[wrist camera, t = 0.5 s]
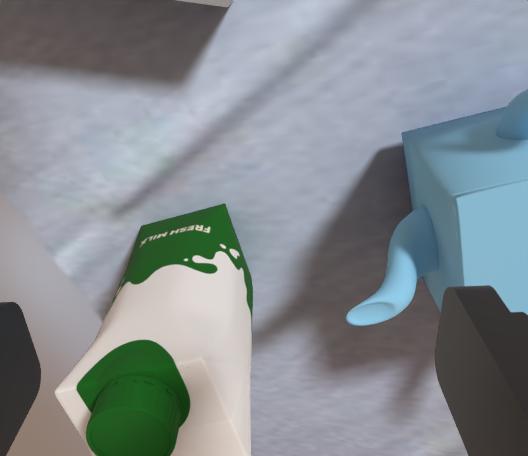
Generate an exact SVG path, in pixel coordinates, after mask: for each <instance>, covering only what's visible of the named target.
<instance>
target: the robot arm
mask: <svg viewBox="0 0 528 456" xmlns="http://www.w3.org/2000/svg"><path fill="white" fill-rule="evenodd" d="M435 366H436V373H437V378H438V381H439V384H440V387H441V389H442V392H443V394H444V397H445V399H446V402H447V404H448V406H449V409H450V411H451V414H452V416H453V419H454V421H455V424H456V426H457V428H458V431H459V433H460V436H461V438H462V441H463V443H464V445H465V448H466V450H467V453H468V455H469V456H528V315H527V314H526V313H524V312H510V311H509V309H508V308H507V306H506V305H505V303H504V302H503V301H502V299H501V298H500V296H499V295H498V293H497V292H496V290H495V289H494V288H493V287H492V286H490V285H485V286H458V287H447V288H446V290H445V292H444V295H443V301H442V307H441V314H440V321H439V328H438V335H437V341H436V348H435ZM40 380H41V368H40V363H39V360H38V357H37V354H36V351H35V348H34V345H33V342H32V339H31V336H30V333H29V330H28V327H27V324H26V321H25V318H24V315H23V312H22V310H21V308H20V307H19V305H18V304H16V303H14V302H2V303H0V456H6V454H7V453H8V451H9V449H10V447H11V445H12V443H13V441H14V439H15V437H16V435H17V433H18V431H19V429H20V427H21V426H22V424H23V422H24V420H25V418H26V416H27V414H28V412H29V410H30V408H31V406H32V404H33V402H34V400H35V399H36V396H37V394H38V391H39V387H40Z"/></svg>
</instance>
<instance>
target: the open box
mask: <svg viewBox="0 0 528 456" xmlns="http://www.w3.org/2000/svg"><path fill="white" fill-rule="evenodd" d="M177 1H184V2H191V3H199V4H206V5H213V6H221V7H228V6H229V5H230V4H231V3H232V2H233V0H177Z"/></svg>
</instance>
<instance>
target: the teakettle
mask: <svg viewBox="0 0 528 456" xmlns="http://www.w3.org/2000/svg"><path fill="white" fill-rule="evenodd" d="M402 139H403V147H404V154H405V161H406V169H407V176H408V183H409V190H410V198H411V206H412V212H411V213H410V214H409V215H407V216H406V217H405V218H404V219H403V220H402V221H401V222H400V223H399V224H398V226H397V227H396V229H395V230H394V233H393V235H392V238H391V241H390V244H389V250H388V259H387V269H386V275H385V279H384V281H383V283H382V285H381V287H380V288H379V289H378V290H377V292H376V293H375V294H374V295H372V296H371V297H369V298H368V299H366V300H365V301H363V302H362V303H360V304H358V305H357V306H355V307H354V308H353V309H351V310H350V311H349V312H348V313H347V315H346V321H347V323H349V324H351V325H355V326H364V325H371V324H376V323H380V322H383V321H386V320H389V319H391V318H393V317H394V316H396V315H398V314H399V313H400V312H402V311H403V310H404V309H405V308H406V307H407V306H408V305H409V304H410V302H411V301H412V299H413V296H414V293H415V289H416V283H417V281H418V280H419V278H421V277H423V279H424V281H425V283H426V285H427V287H428V289H429V291H430V293H431V295H432V297H433V299H434V301H435V303H436V305H437V307H438V309H439V311H440V313H441V307H442V301H443V295H444V292H445V290H446V288H447V287H458V286H485V285H490V286H492V287H493V288H494V289H495V290H496V292H497V293H498V295H499V296H500V298H501V299H502V301H503V302H504V303H505V305H506V306H507V308H508V309H509V311H510V312H524V313H526V314H527V315H528V90H526V91H524V92H522V93H520V94H519V95H518V96H517V97H515V98H514V99H513V100H512V101H511V102H510V103H509V104H508V106H507V107H504V108H500V109H496V110H492V111H488V112H484V113H480V114H476V115H471V116H467V117H463V118H459V119H455V120H451V121H447V122H443V123H439V124H435V125H431V126H427V127H423V128H419V129H415V130H411V131H407V132H403V133H402Z"/></svg>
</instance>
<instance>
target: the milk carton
mask: <svg viewBox="0 0 528 456" xmlns="http://www.w3.org/2000/svg"><path fill="white" fill-rule="evenodd" d="M252 307H253V287H252V279H251V275H250V272H249V269H248V267H247V264H246V261H245V258H244V256H243V253H242V250H241V247H240V244H239V242H238V239H237V236H236V233H235V230H234V228H233V225H232V222H231V219H230V216H229V214H228V211H227V208H226V205H225V204H222V205H218V206H214V207H210V208H207V209H203V210H199V211H196V212H192V213H188V214H184V215H181V216H177V217H173V218H169V219H166V220H162V221H158V222H154V223H151V224H147V225H143V226H141V229H140V232H139V235H138V238H137V241H136V244H135V247H134V250H133V253H132V255H131V258H130V261H129V264H128V267H127V270H126V272H125V274H124V276H123V279H122V281H121V283H120V285H119V288H118V290H117V292H116V294H115V297H114V299H113V301H112V303H111V306H110V308H109V310H108V312H107V315H106V317H105V319H104V321H103V324H102V326H101V328H100V331H99V333H98V335H97V337H96V339H95V341H94V343H93V344H92V345H91V346H90V348H89V349H88V350H87V351H86V353H85V354H84V355H83V356H82V358H81V359H80V360H79V361H78V363H77V364H76V365H75V366H74V368H73V369H72V370H71V371H70V372H69V374H68V375H67V376H66V377H65V379H64V380H63V381H62V382H61V384H60V385H59V386H58V387H57V389H56V390H55V396H56V397H57V399H58V401H59V402H60V404H61V405H62V407H63V409H64V410H65V412H66V413H67V415H68V417H69V418H70V420H71V421H72V423H73V425H74V426H75V428H76V429H77V431H78V432H79V434H80V436H81V437H82V439H83V440H84V442H85V444H86V445H87V447H88V448H89V451H90V454H91V455H92V456H251V424H250V383H251V382H250V372H251V344H252Z"/></svg>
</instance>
